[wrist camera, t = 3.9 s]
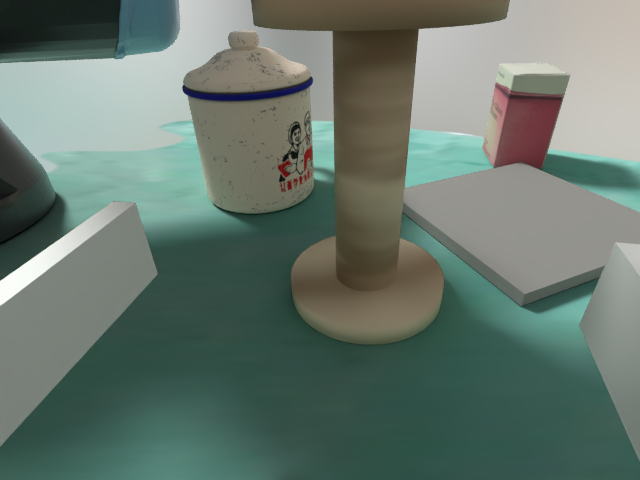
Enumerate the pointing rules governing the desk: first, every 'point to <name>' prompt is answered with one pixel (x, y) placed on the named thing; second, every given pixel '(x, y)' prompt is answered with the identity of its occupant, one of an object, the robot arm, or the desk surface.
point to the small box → (524, 113)
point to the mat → (523, 227)
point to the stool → (370, 166)
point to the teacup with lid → (252, 127)
